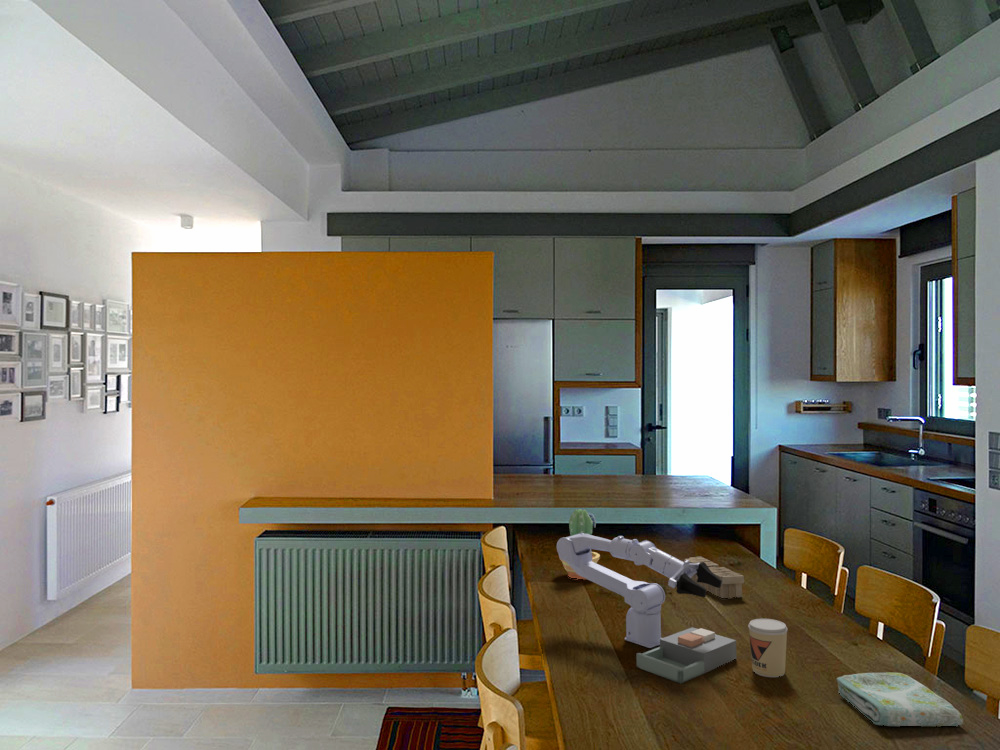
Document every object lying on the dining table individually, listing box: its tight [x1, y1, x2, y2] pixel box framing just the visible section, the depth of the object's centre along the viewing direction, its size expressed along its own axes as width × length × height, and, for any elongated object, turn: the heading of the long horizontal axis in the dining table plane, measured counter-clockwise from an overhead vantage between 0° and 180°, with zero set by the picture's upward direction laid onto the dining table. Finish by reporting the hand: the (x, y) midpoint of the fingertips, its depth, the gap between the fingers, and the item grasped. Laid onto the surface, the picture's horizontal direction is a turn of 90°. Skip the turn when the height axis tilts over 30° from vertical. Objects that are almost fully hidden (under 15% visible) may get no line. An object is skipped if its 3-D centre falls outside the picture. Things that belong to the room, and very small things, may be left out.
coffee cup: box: [747, 618, 788, 678], centre depth 192 cm, size 9×9×12 cm
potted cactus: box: [558, 508, 601, 580], centre depth 285 cm, size 15×15×25 cm
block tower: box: [684, 556, 745, 599], centre depth 267 cm, size 8×8×29 cm
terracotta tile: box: [678, 633, 703, 647], centre depth 200 cm, size 4×4×2 cm
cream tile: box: [691, 627, 716, 642], centre depth 203 cm, size 4×4×2 cm
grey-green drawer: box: [635, 646, 705, 684], centre depth 194 cm, size 14×10×4 cm
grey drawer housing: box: [659, 626, 737, 674], centre depth 202 cm, size 14×14×5 cm
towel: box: [836, 672, 964, 727], centre depth 170 cm, size 18×21×5 cm
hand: (713, 589), depth 201 cm, fingers open, 7 cm apart
